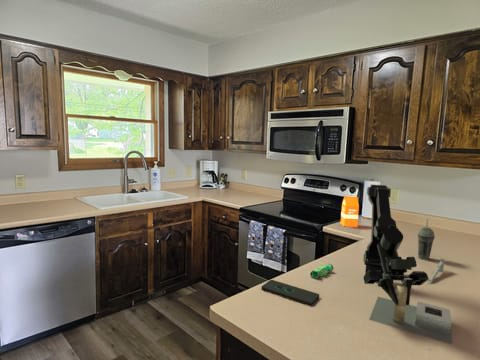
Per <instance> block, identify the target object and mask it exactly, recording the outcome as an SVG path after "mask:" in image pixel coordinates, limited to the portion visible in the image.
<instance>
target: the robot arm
mask: <svg viewBox="0 0 480 360" xmlns="http://www.w3.org/2000/svg"><path fill="white" fill-rule="evenodd" d="M366 194H367V196H368V199H367V200H368V201H369V203H370V204H371V231H370V232H371V235H370V242H369V243H368V244H367V246H366V250H365V251H364V253H363V258H362V259H363V265H365V271H364V272H365V273H364V275H363V282H364V284H365V285H374V284H375V283H378V284H377V287H380V288H381V289H382V290H383V291H384V292H385V293H386V295H388V297H390V298H389V299H390V300H393V302H394V303H395V304H396V305H398V299H397V296H396V289H395V287H394V281H398V282H399V281H400V283H401V284H400V285H404V286H406V287H407V298H406V305H410V300H411V292H412V291H411V290H412V286H419V287H420V286H422V285H423V284H425V283H427V282H428V281H429V279H430V277H429V275H428V273H427V272H425V271H424V270H423V271H422V270H421V271H419V270H413V271H412V268H417V261H416V258H415V256H407V257H406V258H402V256H399V253H398V249H399V248H400V246H401V244H402V242H403V240H404V234H403V233H402V232H401V230H400V229H399V227H398V226H397V222H396V220H394V218H393V217H392V214H391V213H392V212H391V204H390V198H391V195H392V188H390V187H388V186H387V185H385V184H370V186H367V189H366ZM408 270H409V271H412V272H411V273H410V274H406V273H408Z"/></svg>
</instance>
